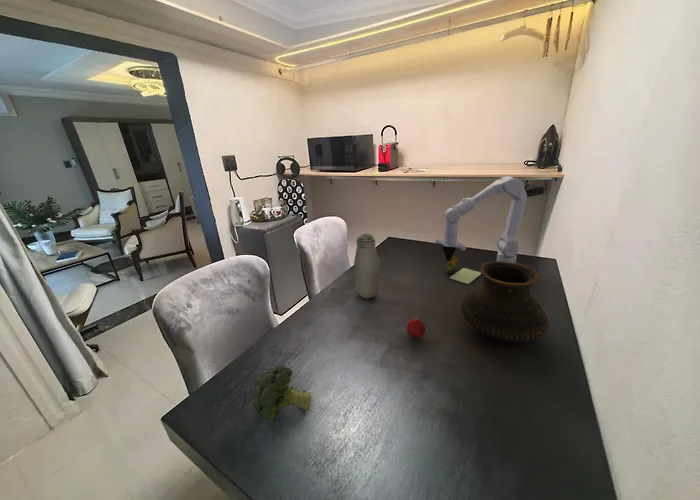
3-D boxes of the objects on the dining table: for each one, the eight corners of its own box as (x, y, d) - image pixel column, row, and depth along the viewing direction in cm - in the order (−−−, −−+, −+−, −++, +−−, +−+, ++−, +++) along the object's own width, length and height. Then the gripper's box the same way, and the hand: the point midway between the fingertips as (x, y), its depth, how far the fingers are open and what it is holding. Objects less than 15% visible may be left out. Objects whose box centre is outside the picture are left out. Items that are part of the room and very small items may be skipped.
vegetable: (302, 436, 58) (237, 415, 57) (298, 425, 69) (244, 407, 68) (321, 378, 63) (262, 357, 62) (315, 377, 75) (265, 359, 74)
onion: (413, 329, 91) (413, 310, 88) (428, 336, 87) (429, 316, 84) (403, 338, 88) (403, 318, 85) (418, 346, 84) (419, 325, 81)
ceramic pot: (447, 335, 87) (451, 275, 79) (474, 302, 103) (481, 249, 95) (533, 373, 71) (551, 302, 63) (550, 327, 87) (566, 266, 79)
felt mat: (463, 268, 131) (463, 267, 131) (482, 273, 125) (482, 272, 124) (449, 278, 123) (449, 277, 122) (468, 284, 116) (468, 283, 116)
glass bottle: (368, 305, 107) (365, 240, 97) (352, 296, 114) (347, 235, 104) (384, 295, 113) (383, 233, 102) (368, 287, 120) (365, 229, 110)
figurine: (442, 274, 126) (444, 259, 123) (454, 266, 133) (456, 251, 130) (448, 276, 124) (450, 261, 121) (460, 268, 131) (462, 253, 128)
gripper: (432, 233, 126) (431, 259, 131) (461, 239, 115) (459, 267, 120) (440, 229, 130) (438, 254, 135) (469, 235, 120) (466, 262, 125)
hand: (448, 260), depth 128 cm, fingers closed
